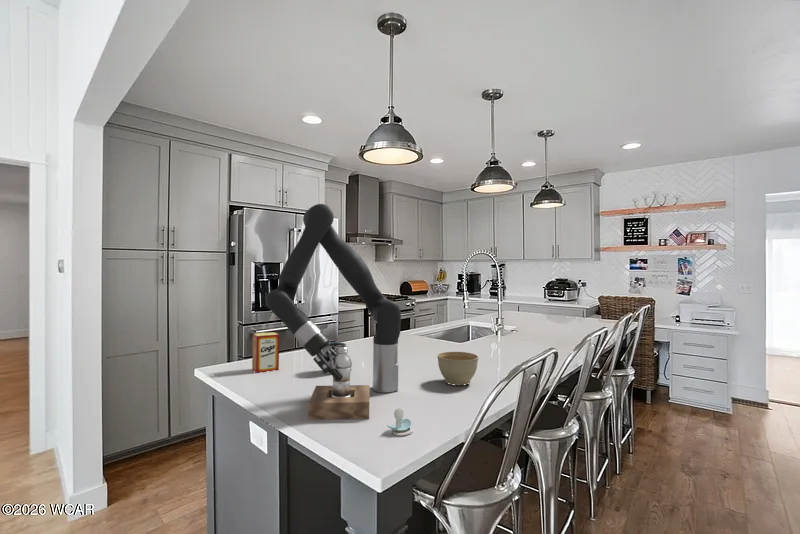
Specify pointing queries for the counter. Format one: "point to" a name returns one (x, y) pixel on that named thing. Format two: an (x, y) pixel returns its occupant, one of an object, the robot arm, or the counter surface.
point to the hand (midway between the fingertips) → (345, 375)
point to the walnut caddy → (339, 404)
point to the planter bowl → (457, 366)
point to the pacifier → (399, 426)
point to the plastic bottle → (342, 372)
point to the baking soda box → (265, 352)
